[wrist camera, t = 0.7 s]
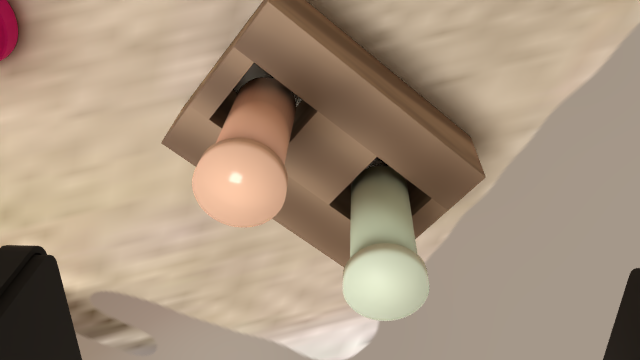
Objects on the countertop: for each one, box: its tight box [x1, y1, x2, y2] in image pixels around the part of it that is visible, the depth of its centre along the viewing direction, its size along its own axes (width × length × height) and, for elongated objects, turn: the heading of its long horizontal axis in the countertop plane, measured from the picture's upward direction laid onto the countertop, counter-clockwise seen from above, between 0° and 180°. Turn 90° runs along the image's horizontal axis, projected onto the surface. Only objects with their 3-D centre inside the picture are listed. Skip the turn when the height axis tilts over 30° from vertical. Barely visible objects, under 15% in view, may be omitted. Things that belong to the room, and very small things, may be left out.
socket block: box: [161, 0, 485, 268], centre depth 42 cm, size 12×18×6 cm, turn 51°
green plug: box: [343, 166, 429, 321], centre depth 38 cm, size 5×5×10 cm
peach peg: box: [192, 77, 296, 227], centre depth 35 cm, size 5×5×10 cm
